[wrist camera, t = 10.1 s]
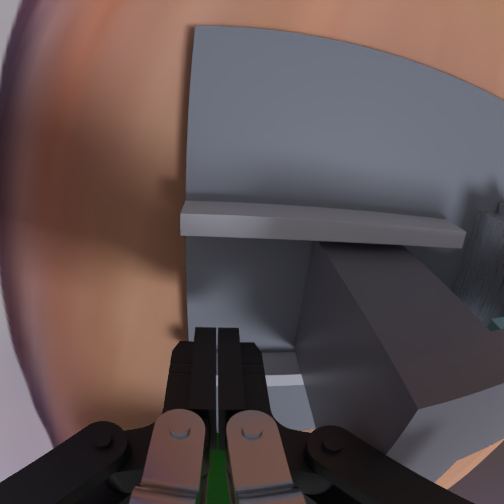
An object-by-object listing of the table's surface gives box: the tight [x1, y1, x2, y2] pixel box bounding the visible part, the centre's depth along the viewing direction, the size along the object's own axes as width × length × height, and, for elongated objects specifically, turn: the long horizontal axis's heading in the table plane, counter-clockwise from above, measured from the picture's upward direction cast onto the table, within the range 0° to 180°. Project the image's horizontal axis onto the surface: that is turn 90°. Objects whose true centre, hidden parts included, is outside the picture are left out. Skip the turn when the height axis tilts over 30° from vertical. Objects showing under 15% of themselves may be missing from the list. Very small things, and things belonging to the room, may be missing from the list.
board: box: [180, 26, 504, 433], centre depth 15 cm, size 22×30×3 cm
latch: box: [294, 241, 504, 483], centre depth 11 cm, size 6×9×9 cm, turn 86°
